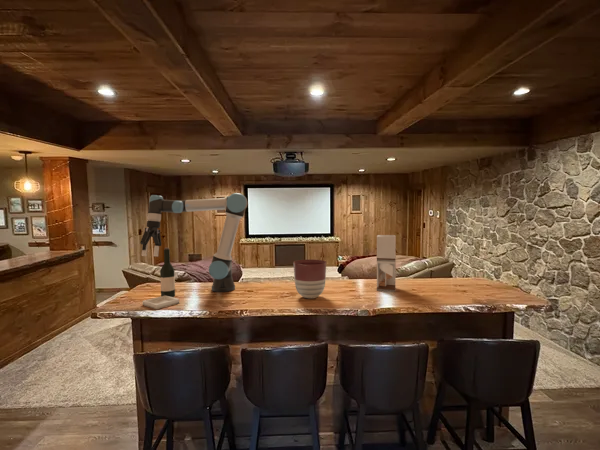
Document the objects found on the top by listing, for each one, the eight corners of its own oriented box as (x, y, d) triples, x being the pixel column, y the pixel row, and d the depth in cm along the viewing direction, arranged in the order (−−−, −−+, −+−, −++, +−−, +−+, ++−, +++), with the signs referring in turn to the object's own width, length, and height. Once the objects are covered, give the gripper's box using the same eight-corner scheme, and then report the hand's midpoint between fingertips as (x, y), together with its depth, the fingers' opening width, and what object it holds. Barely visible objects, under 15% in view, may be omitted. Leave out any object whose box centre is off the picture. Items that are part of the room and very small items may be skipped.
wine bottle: (162, 299, 200) (161, 249, 198) (159, 296, 207) (157, 247, 205) (177, 296, 205) (175, 248, 203) (173, 293, 211) (171, 246, 210)
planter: (324, 302, 188) (323, 265, 187) (290, 301, 192) (290, 264, 191) (328, 293, 207) (328, 259, 206) (297, 292, 211) (297, 259, 210)
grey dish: (165, 299, 199) (165, 295, 198) (179, 303, 190) (179, 298, 190) (142, 305, 187) (142, 300, 187) (156, 309, 179) (156, 304, 179)
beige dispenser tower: (376, 290, 214) (376, 236, 212) (377, 286, 224) (377, 235, 222) (395, 291, 211) (395, 236, 209) (395, 287, 221) (395, 235, 219)
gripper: (158, 223, 214) (154, 256, 212) (136, 218, 189) (132, 255, 187) (169, 223, 213) (165, 256, 211) (149, 218, 189) (145, 256, 186)
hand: (150, 256), depth 199 cm, fingers open, 13 cm apart
